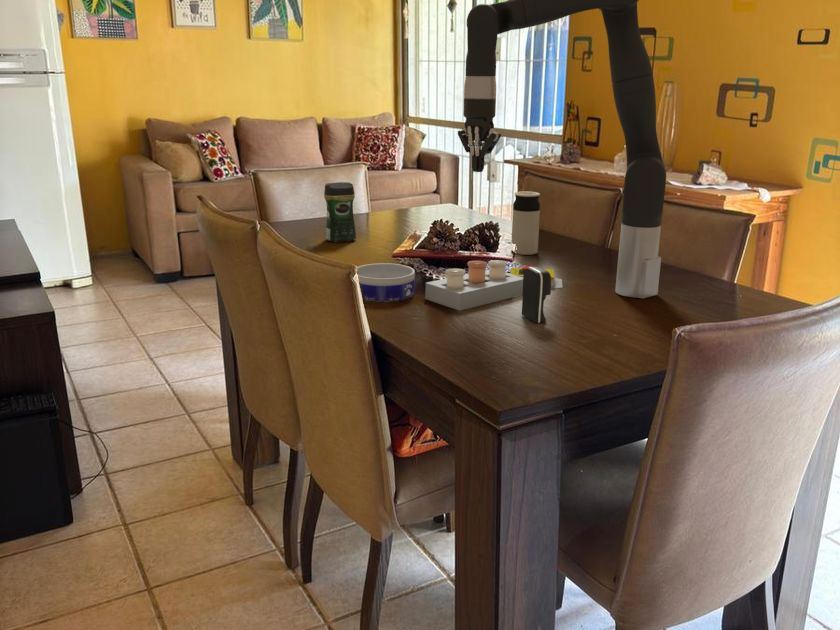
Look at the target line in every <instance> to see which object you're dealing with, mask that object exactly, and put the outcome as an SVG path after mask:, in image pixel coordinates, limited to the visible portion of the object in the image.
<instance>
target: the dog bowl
mask: <svg viewBox="0 0 840 630" xmlns="http://www.w3.org/2000/svg"><path fill="white" fill-rule="evenodd" d="M356 267H357V268H358V278H359V284H360V288H361V292H362V297H363V300H362V301H364V300H365V302H370V301H382V302H381V303H385V302H384V301H396V302H400V301H399V300H402V301H405V300H404V299H406V300H408V299H407V298H409V299H410V297H411V298H412V297H413V296H414V295H415V282H416V281H415V279H416V271H415V269H414V268H412V267H411V266H408V265H405V264H404V265H403V264H400V263H399V264H398V263H387V262H386V263H385V262H384V263H383V262H380V263H369V264H363V265H359V266H356Z"/></svg>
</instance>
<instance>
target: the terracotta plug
mask: <svg viewBox="0 0 840 630" xmlns="http://www.w3.org/2000/svg"><path fill="white" fill-rule="evenodd" d="M467 266H468V274H469V275H468V282H470V283H473V284H480V283H485V270H486V267H487V266H488V262H487V261H485V260H469V261H468V262H467Z"/></svg>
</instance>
